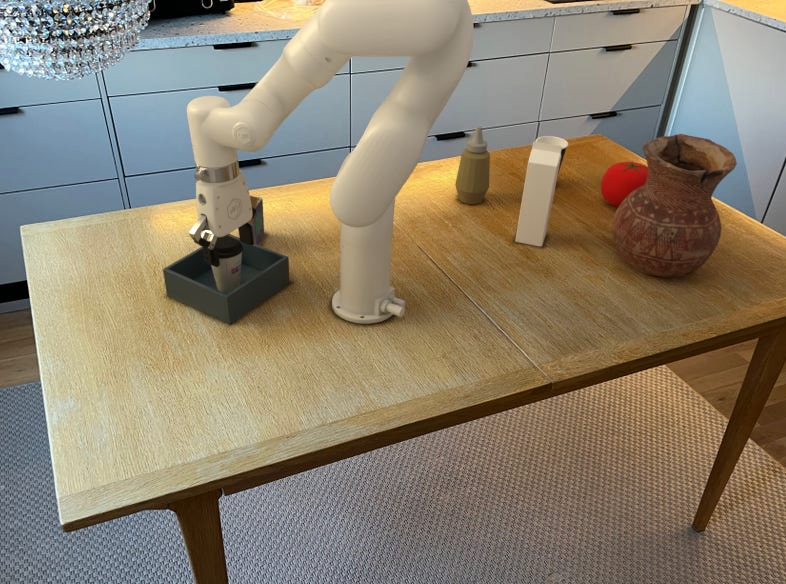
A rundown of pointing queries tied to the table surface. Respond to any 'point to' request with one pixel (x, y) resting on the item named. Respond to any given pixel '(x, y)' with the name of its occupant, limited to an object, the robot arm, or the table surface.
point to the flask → (258, 222)
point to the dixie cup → (554, 141)
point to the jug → (673, 207)
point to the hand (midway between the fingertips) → (230, 253)
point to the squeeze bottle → (473, 170)
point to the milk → (538, 193)
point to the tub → (258, 282)
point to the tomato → (622, 181)
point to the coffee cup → (228, 264)
